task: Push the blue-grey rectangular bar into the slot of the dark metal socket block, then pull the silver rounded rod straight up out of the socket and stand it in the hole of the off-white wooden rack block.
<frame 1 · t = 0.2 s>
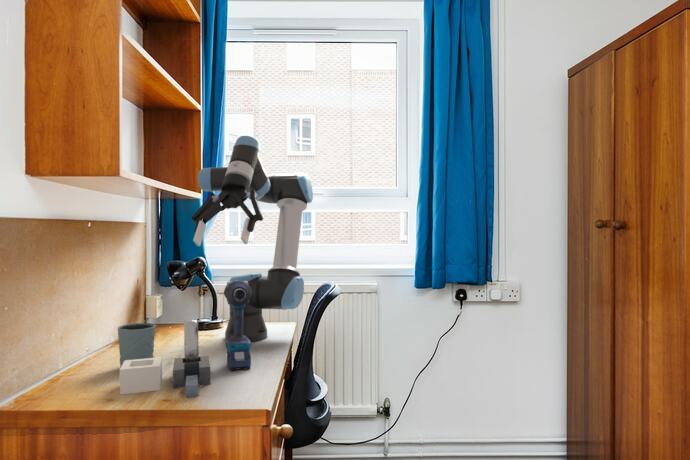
hand: (219, 242, 128), 36 cm above the table, tool tilted 35°, fingers open, 13 cm apart
impact wrench: (239, 368, 139), on the table
grey-green cup: (137, 368, 141), on the table
silver rounded rod: (192, 376, 131), resting in socket block
rack block: (142, 386, 123), on the table
socket block: (192, 379, 128), on the table
blue-grey rectangular bar: (191, 385, 119), point 1 cm above the table, slide at 0.0 cm
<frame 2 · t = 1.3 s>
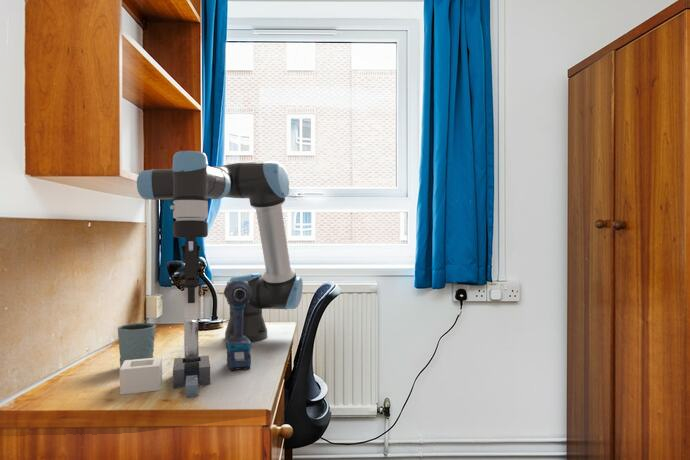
hand: (191, 314, 110), 20 cm above the table, tool pointing down, fingers open, 13 cm apart
nothing on the table moved.
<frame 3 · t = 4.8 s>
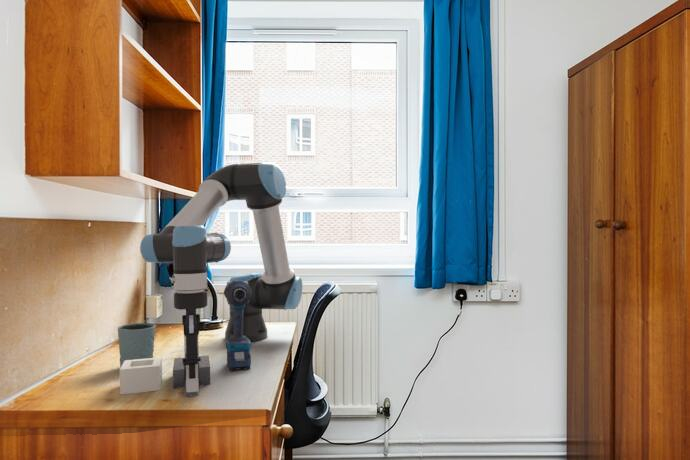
hand: (192, 390, 115), 1 cm above the table, tool pointing down, fingers closed
blue-grey rectangular bar: (191, 384, 120), point 1 cm above the table, slide at 0.9 cm, touching gripper
everything else where it was.
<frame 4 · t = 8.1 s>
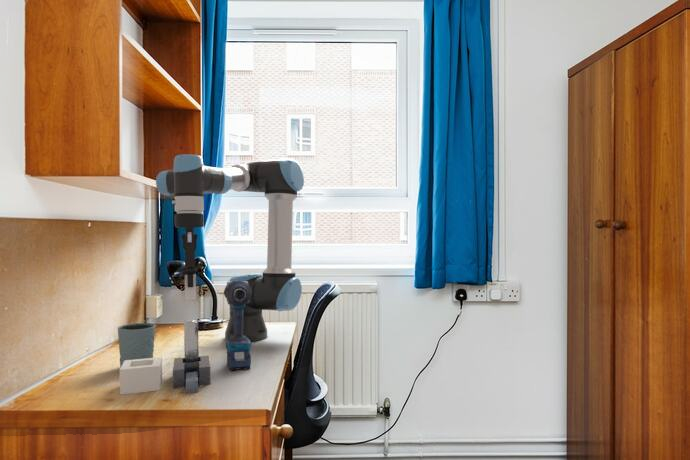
hand: (190, 297, 131), 21 cm above the table, tool pointing down, fingers open, 8 cm apart
blue-grey rectangular bar: (191, 382, 122), point 1 cm above the table, slide at 3.2 cm
everything else where it was.
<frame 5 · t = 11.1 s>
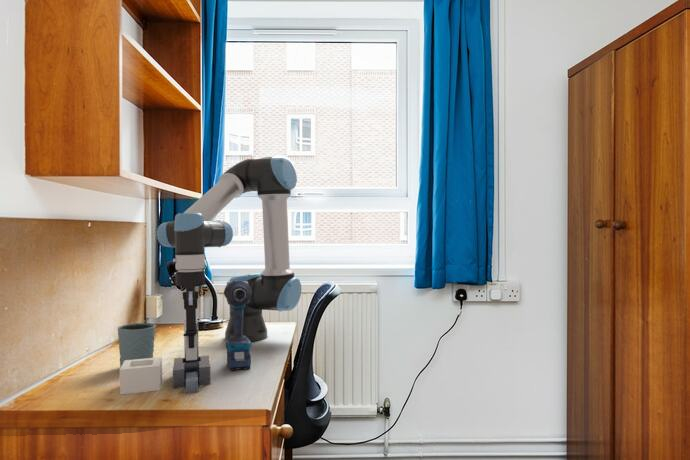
hand: (191, 357, 131), 5 cm above the table, tool pointing down, fingers closed on silver rounded rod, 4 cm apart
silver rounded rod: (192, 376, 131), resting in socket block, touching gripper
everything else where it was.
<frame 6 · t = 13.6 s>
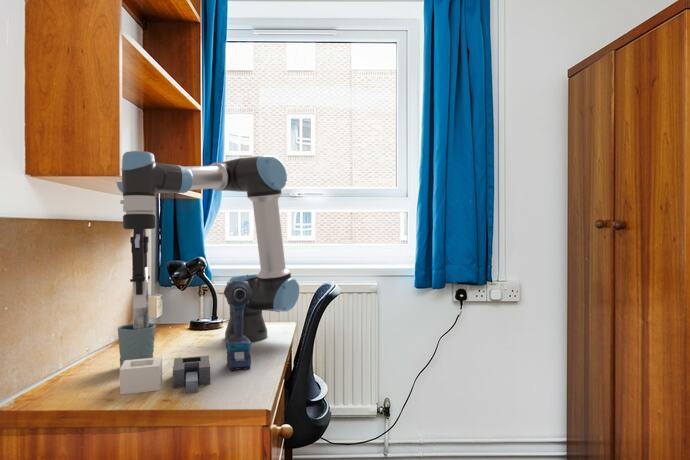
hand: (140, 306, 123), 20 cm above the table, tool pointing down, fingers closed on silver rounded rod, 4 cm apart
silver rounded rod: (141, 327, 123), point 15 cm above the table, touching gripper
everything else where it was.
when the fingers open (7 cm above the table, at t = 16.2 s): silver rounded rod drops 1 cm, resting in rack block.
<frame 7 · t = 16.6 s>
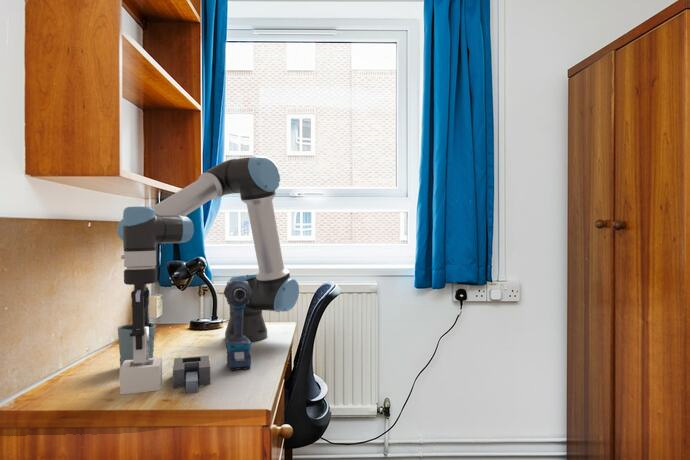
hand: (141, 357, 123), 7 cm above the table, tool pointing down, fingers open, 9 cm apart
silver rounded rod: (142, 386, 123), resting in rack block
everything else where it was.
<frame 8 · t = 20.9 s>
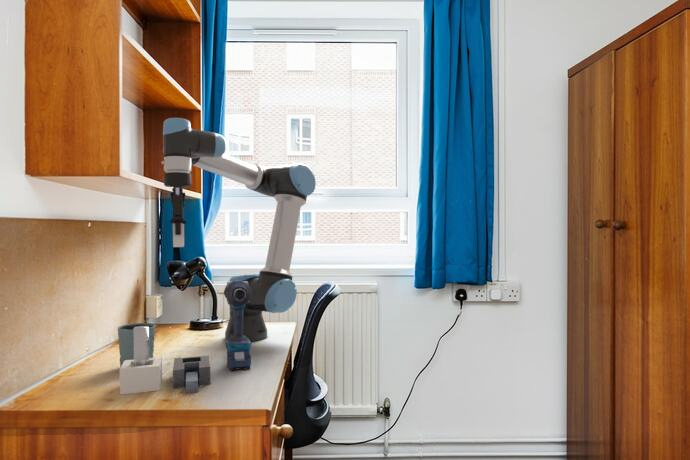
hand: (179, 246, 141), 35 cm above the table, tool pointing down, fingers open, 13 cm apart
nothing on the table moved.
at the end: silver rounded rod 0.1 cm off-centre on the rack block, point 0.0 cm above the rack block's base; silver rounded rod tilted 0°; blue-grey rectangular bar slide at 3.2 cm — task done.
